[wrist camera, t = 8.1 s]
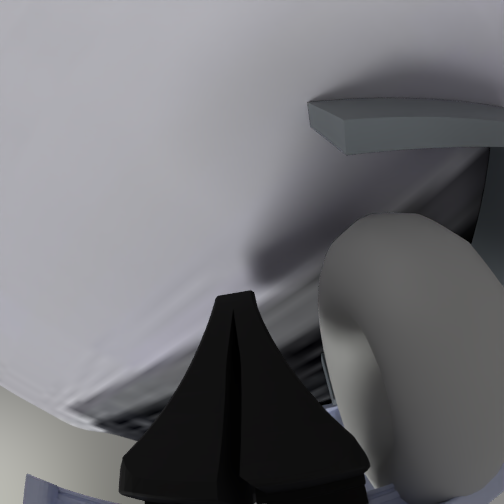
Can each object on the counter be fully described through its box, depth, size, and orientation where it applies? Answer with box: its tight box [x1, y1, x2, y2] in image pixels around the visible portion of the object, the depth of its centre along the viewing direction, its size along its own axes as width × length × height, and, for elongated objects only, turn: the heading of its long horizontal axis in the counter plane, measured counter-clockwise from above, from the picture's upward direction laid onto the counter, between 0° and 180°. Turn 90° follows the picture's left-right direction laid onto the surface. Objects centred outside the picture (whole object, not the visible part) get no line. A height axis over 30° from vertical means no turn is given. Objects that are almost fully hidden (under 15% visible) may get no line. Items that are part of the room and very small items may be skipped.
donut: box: [318, 213, 504, 504], centre depth 8 cm, size 10×4×10 cm, turn 11°
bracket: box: [307, 98, 504, 405], centre depth 10 cm, size 14×9×3 cm
